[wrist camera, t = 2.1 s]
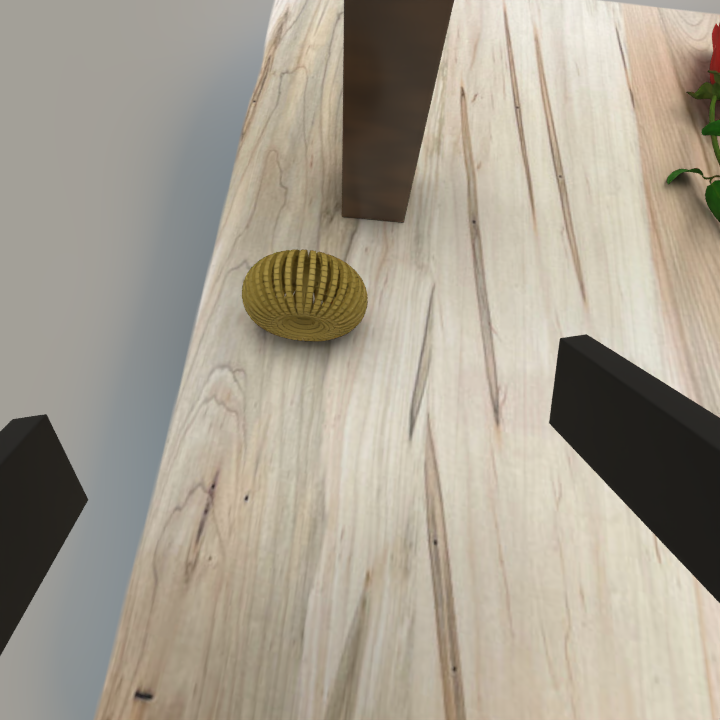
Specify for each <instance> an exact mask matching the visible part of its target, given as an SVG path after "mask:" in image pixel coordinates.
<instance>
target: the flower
mask: <svg viewBox="0 0 720 720" xmlns="http://www.w3.org/2000/svg"><path fill="white" fill-rule="evenodd" d="M712 43H713V55H712V59H711V64H710V70H708V72H709V73H710V82H711V84H710V83H708V82H705V83H704V84H703V85H702V86H701V87H700V88H699V89H698V90H697V92H695V93H694V92H687V93H688V94H689V95H690V96H692V97H693V98H695V99H712V100H711V103H710V111H709V121H710V122H709V124H708V125H707V126H705V127H704V128H703V129H702V135H711V138H712V145H713V148H714V152H715V155H716V158H717V160H718V163H719V165H720V149H719V145H718V141H717V136H720V120H716V121H715V104H716V100H720V24H719V27H718V25H717V24H716V25H715V27H714V29H713V32H712ZM683 172H694V173H699V174H701V175H702V177H703V178H704V179H710V181H709V182H710V184H711V180H712V179H713V178H714V177H720V176H719V175H715V176H713V177H709V178H706V177H704V176H703V173H702V171H701V170H700V169H698V168H694V169H691V170H687V169H678V170H676V171H674V172H672V173H671V174H670V175H669V177H668V178H667V183H668V184H669V183H670V182H671V181H672V180H674V179H675V178H676V177H677V176H678V175H679V174H681V173H683ZM705 197H706V198H705V199H706V202H707V205H708V207H709V209H710V210H711V212H712V213H713V215H714V216H715V217H716V219H717V220H718V221H719V222H720V180H717V181H714V182H713V183H712V184H711V185H709V186H707V189H706V193H705Z"/></svg>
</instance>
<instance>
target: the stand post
mask: <svg viewBox="0 0 720 720" xmlns="http://www.w3.org/2000/svg"><path fill="white" fill-rule="evenodd" d="M453 3H454V0H344V60H343V154H342V217H352V218H362V219H373V220H383V221H394V222H404V219H405V214H406V210H407V206H408V201H409V197H410V192H411V188H412V183H413V179H414V175H415V170H416V166H417V161H418V157H419V153H420V148H421V144H422V139H423V135H424V131H425V126H426V122H427V117H428V113H429V109H430V104H431V100H432V95H433V91H434V87H435V82H436V78H437V73H438V69H439V65H440V60H441V56H442V51H443V47H444V43H445V38H446V34H447V29H448V25H449V21H450V16H451V12H452V7H453Z"/></svg>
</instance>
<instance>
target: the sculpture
mask: <svg viewBox="0 0 720 720" xmlns="http://www.w3.org/2000/svg"><path fill="white" fill-rule="evenodd" d="M307 252H308V251H307V250H301V251H299V250H291V251H289V250H286V251H283V252H282V251H281V252H276V253H274V254H272V255H268V256H266V257H264V258H263V259H262V260H259V262H258V263H256V264H255V265H254V266H253V267H252V268H251V269H250V270H249V272H248V273H247V275H246V277H245V280H244V282H243V283H244V284H243V286H242V299H243V304H244V307H245V310H246V312H248V315H249V316H250V317H251V319H252V320H254V322H255V323H256V324H257V325H258V326H260V327H261V328H263V329H265V330H266V331H269V332H270V333H273V334H275V335H277V336H280V337H284V338H287V339H288V338H289V339H292V340H295V339H297V340H298V341H300V340H301V341H302V340H304V341H325V340H330V339H335V338H338V337H341V336H343V335H345V334H347V333H349V332H350V331H352V330H353V329H354V328H356V326H357V325H358V324H359V323H360V322H361V320H362V318H363V317H364V314H365V312H366V309H367V303H368V302H367V292H366V287H365V285H364V283H363V280H362V279H361V278H360V276H359V274H357V272H356V271H355V270H354V269H353V268H352V267H351V266H349V265H348V264H347V263H346V262H343V261H342V260H340V259H338V258H336V257H334V256H331V255H329V254H325V253H322V252H318V253H316V251H312V250H310V253H309V257H308V253H307ZM272 272H273V273H272ZM262 289H263V290H262ZM294 291H295V293H294ZM313 291H314V292H313ZM285 293H286V294H287V295H286V296H285V298H284V294H285ZM293 293H294V296H293ZM313 293H314V296H315V301H314V305H313ZM260 295H262V296H260ZM276 295H277V298H276ZM322 299H323V300H322ZM333 299H334V300H333ZM321 301H323V303H322V306H321ZM342 301H343V302H342ZM296 303H297V304H296ZM330 303H331V305H330V306H329V304H330ZM288 304H289V305H288ZM296 305H297V309H296ZM338 306H339V307H338ZM327 309H328V310H327ZM302 338H303V339H302Z"/></svg>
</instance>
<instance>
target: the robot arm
mask: <svg viewBox="0 0 720 720" xmlns="http://www.w3.org/2000/svg"><path fill="white" fill-rule="evenodd" d="M549 423H550V424H551V426H552V427H553V428H554V429H555V430H556V431H557V432H558V433H559V434H560V435H561V436H562V437H563V438H564V439H565V440H566V441H567V442H568V443H569V445H570V446H571V447H572V448H573V449H574V450H575V451H576V452H577V453H578V454H579V455H580V456H581V457H582V458H583V459H584V460H585V461H586V462H587V464H588V465H589V466H590V467H591V468H592V469H593V470H594V471H595V472H596V473H597V474H598V475H599V476H600V477H601V478H602V479H603V480H604V481H605V483H606V484H607V485H608V486H609V487H610V488H611V489H612V490H613V491H614V492H615V493H616V494H617V495H618V496H619V497H620V498H621V499H622V500H623V502H624V503H625V504H626V505H627V506H628V507H629V508H630V509H631V510H632V511H633V512H634V513H635V514H636V515H637V516H638V517H639V518H640V519H641V521H642V522H643V523H644V524H645V525H646V526H647V527H648V528H649V529H650V530H651V531H652V532H653V533H654V534H655V535H656V536H657V537H658V538H659V540H660V541H661V542H662V543H663V544H664V545H665V546H666V547H667V548H668V549H669V550H670V551H671V552H672V553H673V554H674V555H675V556H676V557H677V559H678V560H679V561H680V562H681V563H682V564H683V565H684V566H685V567H686V568H687V569H688V570H689V571H690V572H691V573H692V574H693V575H694V576H695V577H696V579H697V580H698V581H699V582H700V583H701V584H702V585H703V586H704V587H705V588H706V589H707V590H708V591H709V592H710V593H711V594H712V595H713V596H714V598H715V599H716V600H717V601H718V602H719V603H720V418H719V417H718V416H716V415H714V414H713V413H711V412H710V411H708V410H706V409H705V408H703V407H702V406H700V405H698V404H697V403H695V402H694V401H692V400H690V399H689V398H687V397H686V396H684V395H682V394H681V393H679V392H678V391H676V390H674V389H673V388H671V387H670V386H668V385H666V384H665V383H663V382H662V381H660V380H659V379H657V378H655V377H654V376H652V375H651V374H649V373H647V372H646V371H644V370H643V369H641V368H639V367H638V366H636V365H635V364H633V363H631V362H630V361H628V360H627V359H625V358H623V357H622V356H620V355H619V354H617V353H615V352H614V351H612V350H611V349H609V348H607V347H606V346H604V345H603V344H601V343H600V342H598V341H596V340H595V339H593V338H592V337H590V336H588V335H587V334H586V335H580V336H573V337H566V338H560V342H559V350H558V358H557V366H556V373H555V381H554V389H553V397H552V405H551V413H550V420H549ZM87 501H88V498H87V496H86V494H85V492H84V491H83V488H82V486H81V484H80V482H79V480H78V478H77V476H76V474H75V472H74V470H73V468H72V466H71V464H70V462H69V460H68V458H67V456H66V453H65V451H64V449H63V447H62V445H61V443H60V441H59V439H58V437H57V435H56V433H55V431H54V429H53V427H52V425H51V423H50V421H49V419H48V416H47V415H46V414H45V415H38V416H31V417H25V418H18V419H13V420H12V421H10V423H8V425H7V426H5V428H3V429H2V431H0V655H1V654H2V652H3V650H4V648H5V646H6V645H7V643H8V641H9V639H10V637H11V636H12V634H13V632H14V630H15V629H16V627H17V625H18V623H19V622H20V620H21V618H22V616H23V614H24V613H25V611H26V609H27V607H28V605H29V604H30V602H31V600H32V598H33V597H34V595H35V593H36V591H37V590H38V588H39V586H40V584H41V583H42V581H43V579H44V577H45V576H46V574H47V572H48V570H49V568H50V567H51V565H52V563H53V561H54V559H55V558H56V556H57V554H58V552H59V551H60V549H61V547H62V545H63V544H64V542H65V540H66V538H67V537H68V535H69V533H70V531H71V529H72V528H73V526H74V524H75V522H76V521H77V519H78V517H79V515H80V513H81V512H82V510H83V508H84V506H85V505H86V503H87Z"/></svg>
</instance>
